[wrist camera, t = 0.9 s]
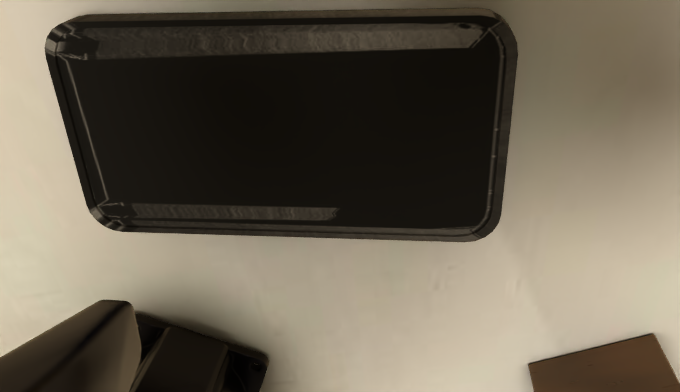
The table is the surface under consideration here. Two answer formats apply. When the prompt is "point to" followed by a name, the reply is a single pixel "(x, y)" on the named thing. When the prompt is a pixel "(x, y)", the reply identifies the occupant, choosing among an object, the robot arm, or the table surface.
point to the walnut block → (608, 369)
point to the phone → (290, 121)
